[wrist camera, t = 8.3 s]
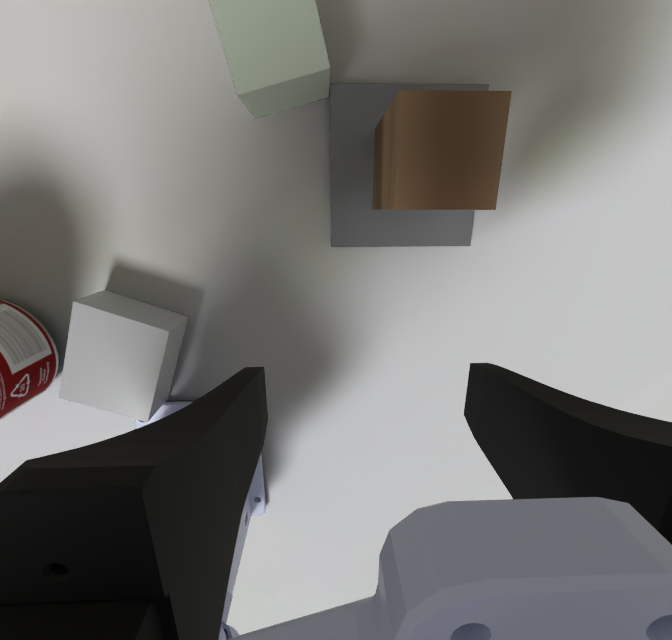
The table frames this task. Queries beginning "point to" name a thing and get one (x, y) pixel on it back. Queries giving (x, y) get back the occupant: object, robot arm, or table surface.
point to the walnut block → (440, 150)
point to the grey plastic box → (121, 354)
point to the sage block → (273, 52)
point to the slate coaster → (358, 168)
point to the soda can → (23, 357)
